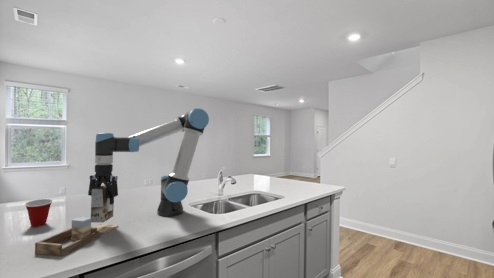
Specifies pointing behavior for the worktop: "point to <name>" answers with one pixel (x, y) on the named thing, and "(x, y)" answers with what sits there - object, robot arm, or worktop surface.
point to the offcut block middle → (81, 230)
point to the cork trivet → (105, 228)
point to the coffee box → (100, 205)
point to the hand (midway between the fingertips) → (102, 210)
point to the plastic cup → (38, 211)
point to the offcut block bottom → (79, 236)
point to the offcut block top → (81, 222)
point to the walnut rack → (52, 243)
